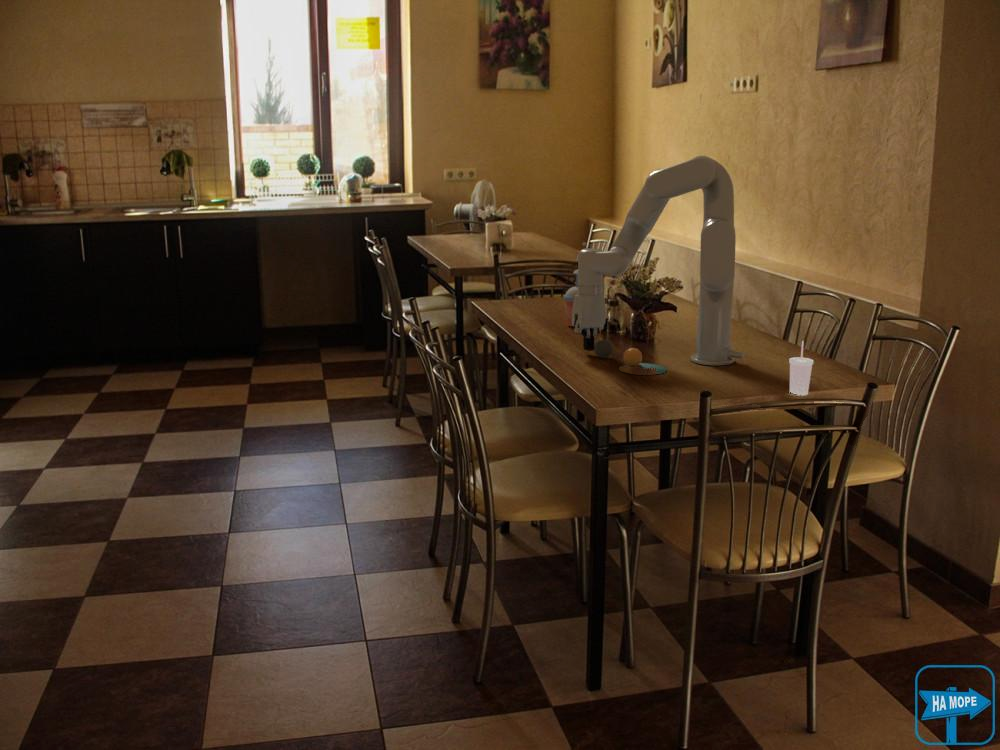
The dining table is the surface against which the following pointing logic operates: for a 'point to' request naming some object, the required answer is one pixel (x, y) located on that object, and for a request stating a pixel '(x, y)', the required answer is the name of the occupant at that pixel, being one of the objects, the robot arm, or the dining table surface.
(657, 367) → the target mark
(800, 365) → the beverage cup
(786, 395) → the dining table surface
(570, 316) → the cup with straw
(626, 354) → the object ball
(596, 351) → the dark grey ball
